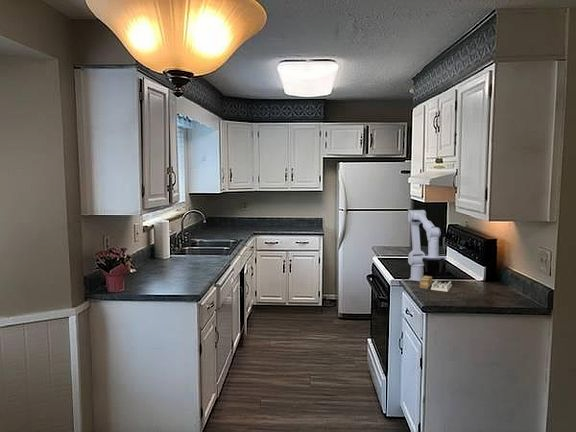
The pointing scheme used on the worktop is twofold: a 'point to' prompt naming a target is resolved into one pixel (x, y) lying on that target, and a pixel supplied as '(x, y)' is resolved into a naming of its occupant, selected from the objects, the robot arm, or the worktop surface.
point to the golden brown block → (426, 282)
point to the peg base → (441, 286)
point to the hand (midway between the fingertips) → (433, 271)
